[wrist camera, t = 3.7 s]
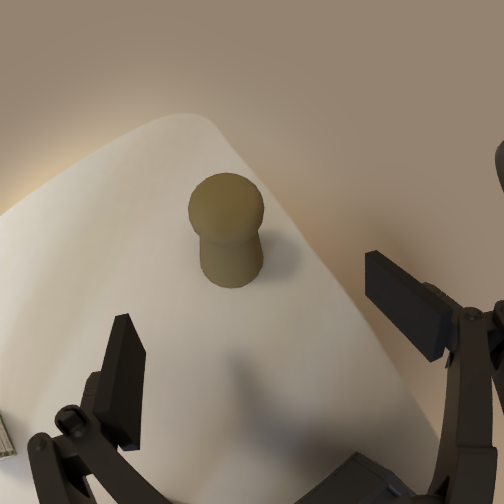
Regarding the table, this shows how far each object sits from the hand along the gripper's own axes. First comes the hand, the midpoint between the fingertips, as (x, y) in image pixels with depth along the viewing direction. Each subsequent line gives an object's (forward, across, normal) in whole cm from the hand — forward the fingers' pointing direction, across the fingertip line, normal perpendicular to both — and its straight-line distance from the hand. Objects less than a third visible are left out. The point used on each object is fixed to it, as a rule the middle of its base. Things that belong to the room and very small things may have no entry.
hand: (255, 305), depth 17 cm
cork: (+14, 0, -3) cm, 14 cm away
